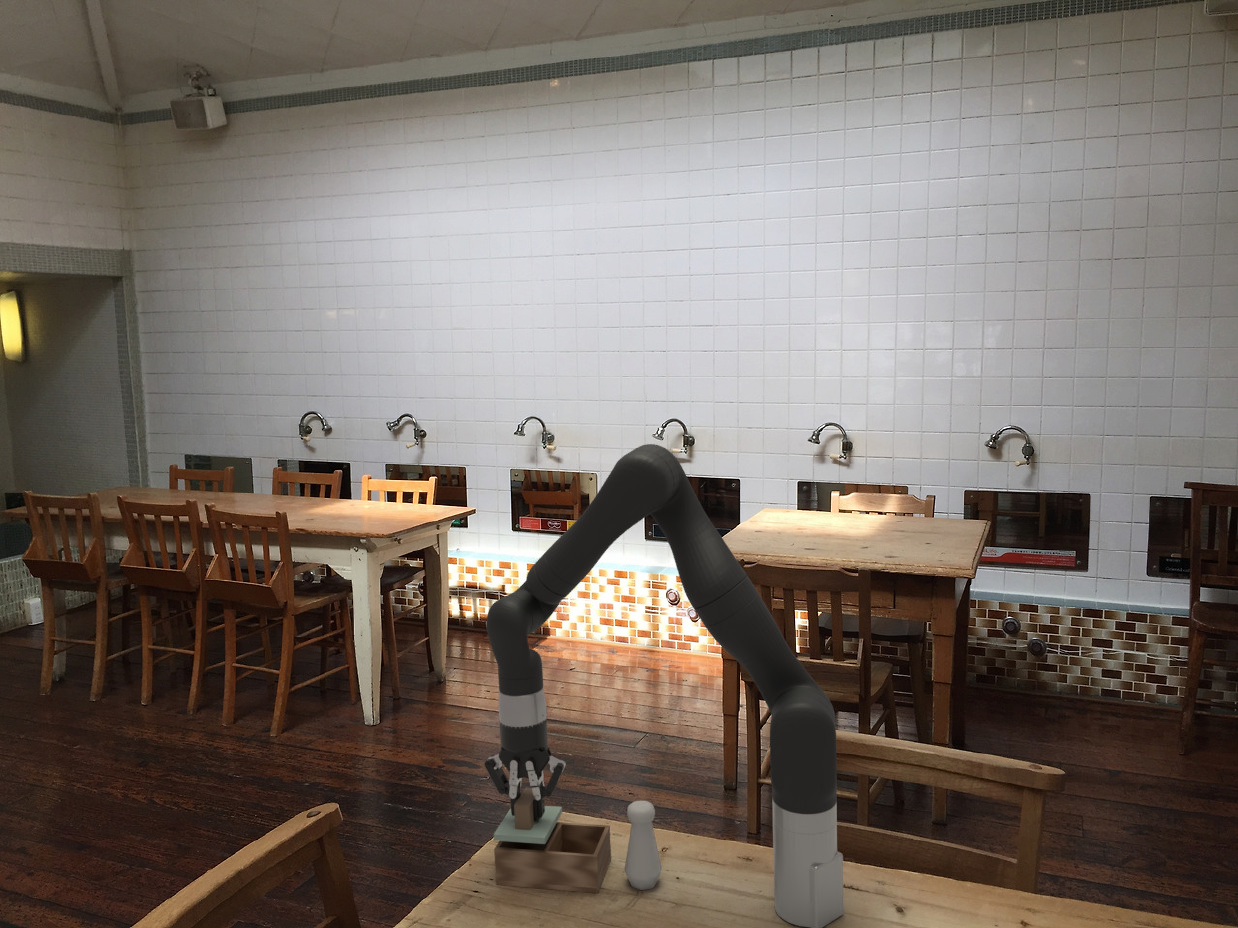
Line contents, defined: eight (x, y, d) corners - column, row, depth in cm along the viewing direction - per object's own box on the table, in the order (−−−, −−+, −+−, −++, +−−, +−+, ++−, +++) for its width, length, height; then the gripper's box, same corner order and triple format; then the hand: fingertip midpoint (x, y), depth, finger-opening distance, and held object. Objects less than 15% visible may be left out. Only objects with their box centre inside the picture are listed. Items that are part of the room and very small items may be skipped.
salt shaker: (647, 897, 144) (644, 817, 142) (617, 885, 147) (614, 807, 145) (669, 879, 148) (666, 801, 147) (639, 868, 152) (636, 792, 150)
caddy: (611, 859, 155) (609, 825, 154) (598, 892, 145) (596, 856, 145) (515, 852, 158) (513, 818, 157) (496, 884, 149) (494, 848, 148)
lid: (562, 812, 156) (560, 783, 155) (545, 843, 146) (543, 813, 145) (513, 809, 157) (512, 781, 157) (493, 840, 148) (492, 810, 147)
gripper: (473, 722, 147) (479, 826, 149) (558, 726, 144) (564, 832, 146) (489, 704, 154) (495, 804, 156) (571, 708, 151) (576, 809, 154)
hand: (528, 817), depth 151 cm, fingers closed on lid, 2 cm apart
